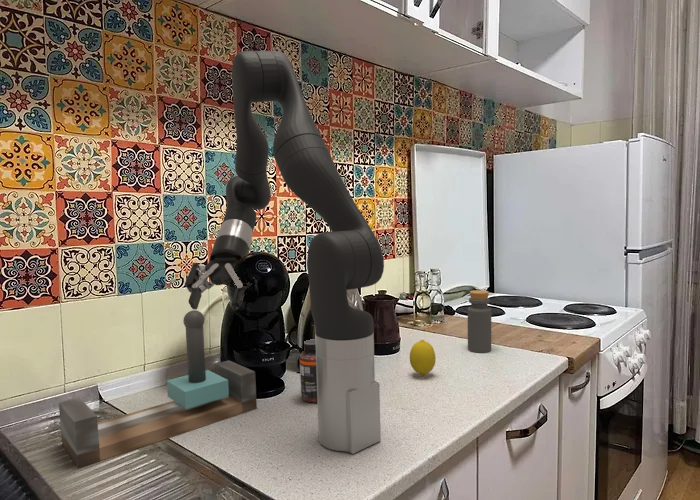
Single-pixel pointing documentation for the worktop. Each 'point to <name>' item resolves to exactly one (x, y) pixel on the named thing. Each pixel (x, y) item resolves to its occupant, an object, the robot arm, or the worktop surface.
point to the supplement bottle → (308, 371)
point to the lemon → (422, 357)
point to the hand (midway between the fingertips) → (213, 307)
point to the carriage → (196, 370)
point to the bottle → (479, 322)
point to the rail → (150, 420)
